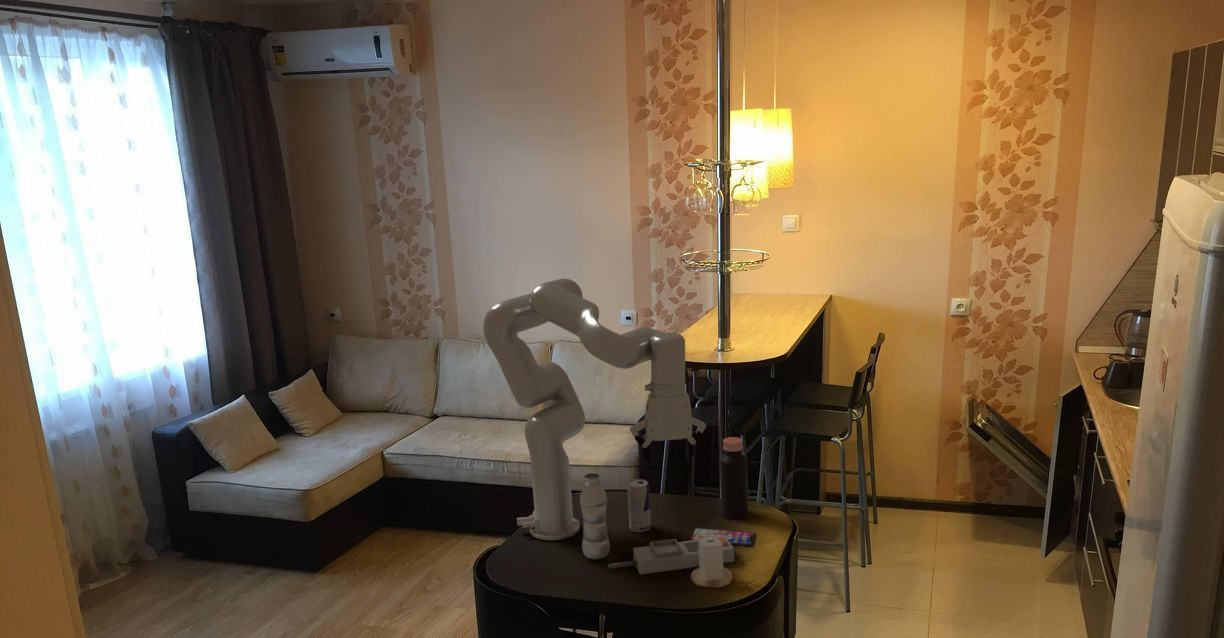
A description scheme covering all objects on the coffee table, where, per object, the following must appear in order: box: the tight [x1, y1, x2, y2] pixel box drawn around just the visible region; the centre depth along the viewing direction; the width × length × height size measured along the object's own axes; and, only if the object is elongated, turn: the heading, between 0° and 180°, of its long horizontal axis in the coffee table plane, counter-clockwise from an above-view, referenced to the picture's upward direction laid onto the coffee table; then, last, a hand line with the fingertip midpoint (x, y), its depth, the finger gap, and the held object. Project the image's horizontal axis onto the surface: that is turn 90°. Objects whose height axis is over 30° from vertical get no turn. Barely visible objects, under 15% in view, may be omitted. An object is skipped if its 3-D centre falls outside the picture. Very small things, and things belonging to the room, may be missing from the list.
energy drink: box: [627, 478, 652, 533], centre depth 209 cm, size 5×5×12 cm
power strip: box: [607, 536, 735, 575], centre depth 191 cm, size 28×7×4 cm, turn 100°
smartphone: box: [689, 527, 756, 548], centre depth 202 cm, size 8×1×15 cm
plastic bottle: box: [579, 472, 611, 561], centre depth 195 cm, size 6×7×20 cm
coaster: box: [690, 566, 733, 589], centre depth 184 cm, size 9×9×1 cm
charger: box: [698, 536, 724, 581], centre depth 183 cm, size 4×4×8 cm
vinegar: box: [719, 436, 749, 520], centre depth 213 cm, size 7×7×20 cm
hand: (668, 460), depth 190 cm, fingers open, 9 cm apart
